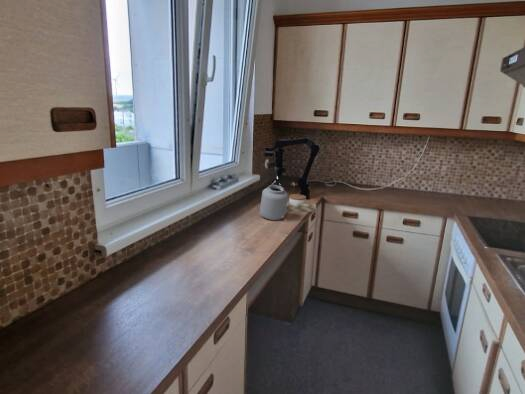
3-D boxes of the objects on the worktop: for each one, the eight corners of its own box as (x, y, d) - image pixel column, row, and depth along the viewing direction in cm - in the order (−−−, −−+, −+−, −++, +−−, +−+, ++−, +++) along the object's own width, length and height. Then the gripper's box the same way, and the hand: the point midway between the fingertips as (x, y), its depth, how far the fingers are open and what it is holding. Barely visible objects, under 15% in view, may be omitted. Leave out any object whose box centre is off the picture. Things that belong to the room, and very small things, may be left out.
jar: (293, 221, 199) (295, 178, 193) (269, 224, 193) (271, 179, 187) (277, 212, 216) (279, 172, 209) (255, 214, 209) (256, 173, 203)
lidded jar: (307, 207, 230) (308, 193, 227) (302, 211, 220) (303, 196, 218) (291, 204, 234) (292, 191, 231) (286, 208, 224) (286, 194, 222)
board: (314, 210, 224) (314, 204, 223) (315, 211, 221) (316, 205, 220) (283, 210, 220) (283, 204, 219) (284, 211, 217) (284, 205, 216)
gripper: (265, 155, 257) (264, 176, 261) (270, 159, 239) (269, 182, 243) (280, 155, 259) (279, 176, 262) (286, 159, 241) (285, 182, 245)
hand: (278, 179), depth 253 cm, fingers closed
